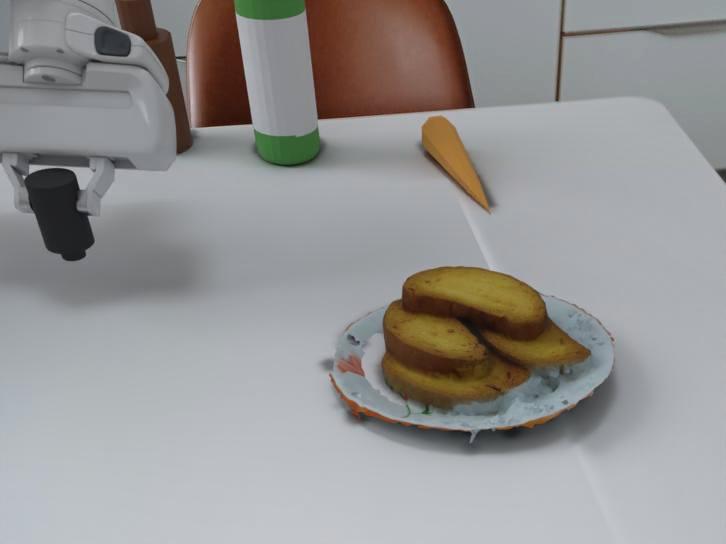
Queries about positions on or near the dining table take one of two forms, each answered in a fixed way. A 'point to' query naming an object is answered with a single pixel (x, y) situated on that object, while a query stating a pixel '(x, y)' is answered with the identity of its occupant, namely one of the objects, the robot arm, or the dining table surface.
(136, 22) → the bottle
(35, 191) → the cylinder
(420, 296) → the food on plate
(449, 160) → the carrot
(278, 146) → the wine bottle
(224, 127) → the dining table surface
